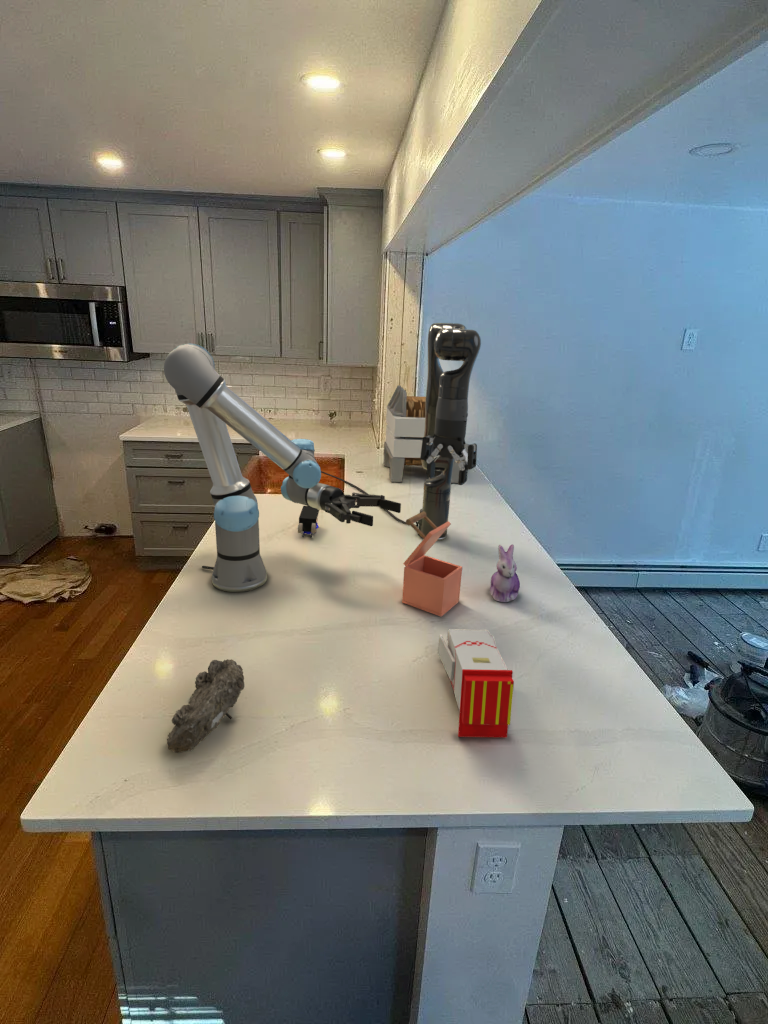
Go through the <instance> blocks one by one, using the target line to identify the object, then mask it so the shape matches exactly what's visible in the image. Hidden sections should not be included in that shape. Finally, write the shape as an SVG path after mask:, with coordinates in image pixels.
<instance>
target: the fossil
mask: <svg viewBox="0 0 768 1024" xmlns="http://www.w3.org/2000/svg"><path fill="white" fill-rule="evenodd" d="M243 670H244V669H243V667H242V665H240V664H237V662H236V661H235V660H234V659H232V658H231V659H227V658H226V659H224V660H223V661H222V660H217V659H212V660H211V661H210V663H209V665H208V666H207V671H201V672H199V673H198V674H197V675H196V676H195V680H194V684H195V685H194V687H195V689H194V690H193V693H192V694H191V697H190V698H189V700H188V704H184V705H182V706H181V707H180V709H177V710H176V711H175V713H174V715H173V716H172V718H171V723H172V724H173V727H172V730H171V731H170V732H168V734H167V738H166V741H167V742H166V745H167V749H168V750H169V751H173V752H174V753H176V754H178V753H182V752H188V751H189V752H192V751H193V750H195V748H196V747H197V746H199V744H200V743H201V742H203V741H204V740H205V739H206V738H207V737H208V736H209V735H210V734H211V733H212V732H214V730H215V729H217V727H218V726H219V724H220V722H221V721H222V720H223V719H224V718H225V716H226V717H227V719H229V720H233V717H232V715H230V714H229V710H230V709H231V708H234V706H235V704H236V703H237V702H238V699H239V697H240V695H241V693H242V691H243V690H245V689H244V688H245V675H244V671H243Z"/></svg>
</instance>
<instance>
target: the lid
mask: <svg viewBox="0 0 768 1024" xmlns="http://www.w3.org/2000/svg"><path fill="white" fill-rule="evenodd" d="M423 518H424V519H425V520H426V521H427V522H428V523H429V524H430V525H431V526H432V527H433V528H434V530H432V531H431V532H429V533H428V534H427V536H425V535H424V534H423V533H422V532H421V531H420V530H419V527H416V526H415V525H416V522H417V521H419V520H421V519H423ZM405 522H406V524H405V525H406V526H410V527H411V528H412V529H413V530H414V531H415V532H416V533H417V535H418V534H419V535H420V538H421V539H422V540H421V542H420V543H419V544H417V546H416V547H415V549H414V550H413V551H412V552H411V554H410V555H408V557H407V558H406V559H405V560H404V562H403V563H402V564H403V566H404V567H405V566H407V565H409V564H410V563H412V562H414V561H415V560H417V559H418V558H420V557H421V556H423V555H425V556H426V554H427V552H429V550H430V549H431V548H432V547H433V545H435V544H436V542H438V541H437V540H438V539H439V537H440V536H441V535H442V534H443V533H444V532H445V530H446V529H447V530H448V528H449V527H450V526H451V525H452V523H451V522H450V521H449V520H448V522H446V523H444V524H443V525H441V526H439V527H437V526H436V525H435V524H434V523H433V522H432V521H431V520H430V519H429V518H428V517H427V516H426V513H425V512H424V511H423V512H421V513H420V512H418V513H417V514H415V515H413V516H411V517H409V518H407V519H406V520H405ZM419 535H418V536H419Z"/></svg>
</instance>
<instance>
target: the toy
mask: <svg viewBox="0 0 768 1024" xmlns="http://www.w3.org/2000/svg"><path fill="white" fill-rule="evenodd" d="M446 640H447V643H446V641H445V639H444V636H443V635H442V634H439V637H438V646H437V656H438V657H439V659H440V661H441V663H442V666H443V668H444V670H445V672H446V674H447V677H448V679H449V681H450V684H451V687H452V690H453V693H454V697H455V701H456V705H457V708H458V711H459V714H458V715H459V716H458V730H457V731H458V732H457V737H458V738H508V731H509V726H510V725H511V717H512V707H513V697H514V696H513V695H514V684H515V680H514V679H513V673H514V671H513V670H512V669H508V667H507V665H506V662H505V661H504V659H503V658H502V655H501V653H500V651H499V649H498V647H497V643H496V639H495V637H494V635H493V634H491V632H490V631H489V629H467V628H466V629H465V628H463V629H461V628H460V629H459V628H448V630H447V639H446Z"/></svg>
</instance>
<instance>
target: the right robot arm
mask: <svg viewBox="0 0 768 1024" xmlns="http://www.w3.org/2000/svg"><path fill="white" fill-rule="evenodd" d="M481 347H482V339H481V336H480V334H479V332H478V331H477V330H475V329H468V328H467V326H466V325H464V324H462V323H457V322H455V323H453V322H434V323H432V324H431V325H430V326H429V328H428V334H427V381H426V389H425V390H426V391H425V397H426V402H425V431H424V437H423V440H422V448H421V457H420V458H421V461H422V466H421V467H422V468H423V470H426V476H427V479H425V480H424V482H423V493H422V496H423V497H422V506H421V508H420V509H419V513H421V512H423V511H424V512H425V513H426V516H427V517H428V518H429V519H430V520H431V521H432V522H433V523H434V524H435V525H436V526H437V527H439V526H441V525H443V524H444V523H446V522H448V521H449V517H450V516H449V514H450V504H451V494H452V493H451V491H452V483H451V479H452V470H453V464H454V460H455V462H456V463H457V464H458V465H459V467H460V469H461V470H459V480H458V483H457V484H458V485H459V486H464V484H465V483H466V482H467V481H468V474H469V473H468V472H469V471H470V470H472V469H475V468H476V467H477V453H478V444H477V443H467V442H466V434H467V426H468V425H467V423H468V417H469V392H470V391H469V389H470V381H471V376H472V372H473V369H474V367H475V363H476V360H477V358H478V355H479V353H480V350H481ZM440 360H441V361H453V362H462V365H461V366H460V367H459V368H455V369H451V370H446V371H444V370H443V368H442V365H441V363H440ZM464 450H465V452H466V453H467V457H466V455H465V453H464ZM436 471H437V472H440V471H443V473H441V472H440V474H438V475H436ZM321 474H324V475H327V476H329V477H331V478H334V479H336V480H338V481H341V482H344V483H346V484H348V485H349V486H352V487H354V488H355V489H357V490H359V491H360V492H362V494H369V493H367V492H366V491H365V490H363V489H362V488H360V487H359V486H357V485H355V484H353V483H351V482H349V481H347V480H345V479H343V478H341V477H338V476H335V475H333V474H330V473H328V472H326V471H322V470H321ZM435 475H436V476H435ZM383 510H384V512H386V513H387V514H389V515H390V516H391V517H392V518H393V519H395V520H396V521H398V522H400V523H402V524H404V525H407V524H406V521H404V520H402V519H400V518H399V517H397V516H395V514H393V513H392V511H389V510H386V509H383ZM414 525H415V526H416V527H417V528H418V529H419V530H420V531H421V532H422V533H423V534H424V535H425V536H427V534H428V533H429V532H431V531H432V530H434V528H433V527H432V526H431V525H430V524H429V523H428V522H427V521H426V520H425V519H424V518H423V519H421V520H419V521H417V522H415V524H414ZM417 535H418V536H420V535H419V534H418V533H417ZM420 537H421V536H420ZM447 538H448V528H447V529H446V530H445V532H444V533H443V534H442V535H441V536H440V537H439V539H438V540H437V541H436V542H440V541H444V540H446V539H447Z"/></svg>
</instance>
